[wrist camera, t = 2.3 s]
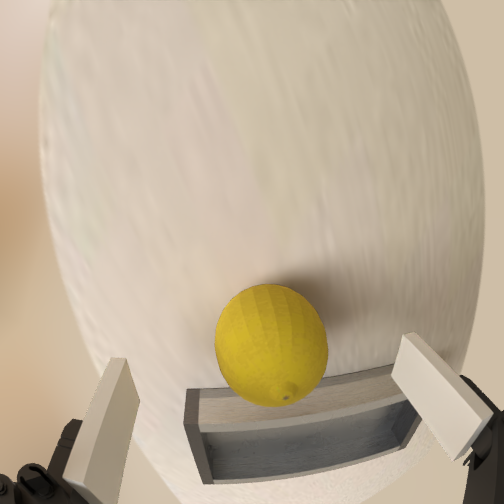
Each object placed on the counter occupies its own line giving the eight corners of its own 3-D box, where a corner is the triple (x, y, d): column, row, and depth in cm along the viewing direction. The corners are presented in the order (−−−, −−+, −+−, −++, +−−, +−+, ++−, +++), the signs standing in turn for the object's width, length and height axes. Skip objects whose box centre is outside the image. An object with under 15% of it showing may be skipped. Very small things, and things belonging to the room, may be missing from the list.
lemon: (250, 354, 19) (266, 449, 12) (197, 297, 17) (184, 391, 10) (318, 310, 19) (369, 394, 11) (272, 244, 17) (312, 315, 9)
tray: (186, 389, 20) (183, 423, 16) (421, 356, 21) (441, 379, 18) (203, 455, 23) (203, 484, 19) (392, 425, 25) (405, 447, 21)
